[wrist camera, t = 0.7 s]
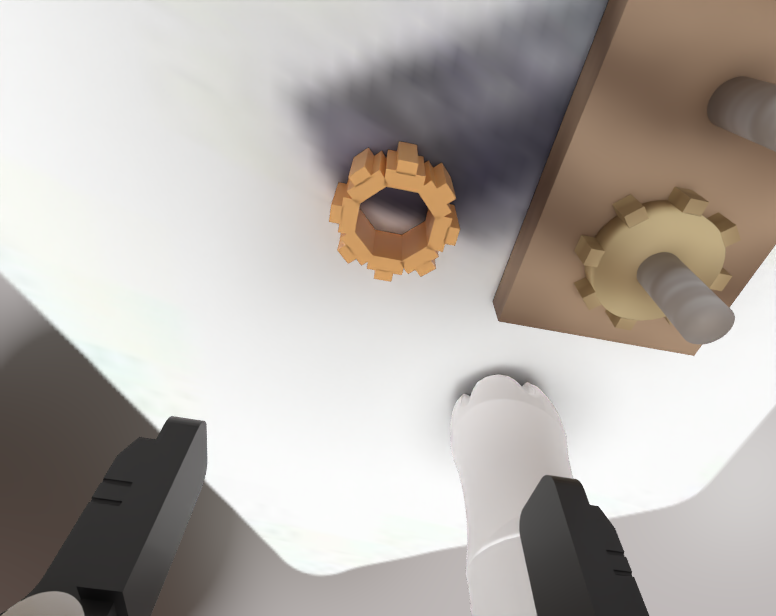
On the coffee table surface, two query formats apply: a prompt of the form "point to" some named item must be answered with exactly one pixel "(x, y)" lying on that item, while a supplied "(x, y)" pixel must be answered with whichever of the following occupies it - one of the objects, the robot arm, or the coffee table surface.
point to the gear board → (655, 180)
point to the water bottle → (503, 484)
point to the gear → (385, 247)
